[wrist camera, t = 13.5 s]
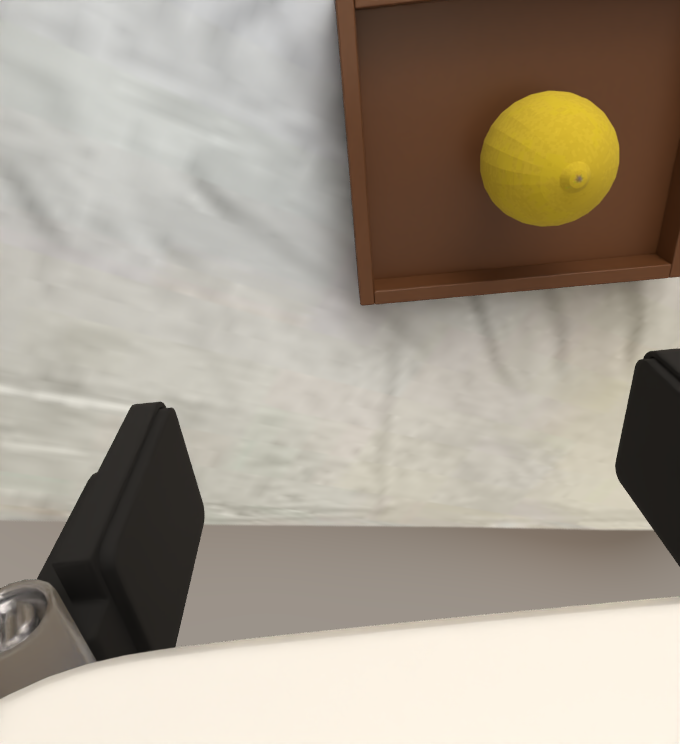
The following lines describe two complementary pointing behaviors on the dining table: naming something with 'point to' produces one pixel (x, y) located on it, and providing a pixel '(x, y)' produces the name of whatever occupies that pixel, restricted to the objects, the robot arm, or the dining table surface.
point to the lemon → (549, 158)
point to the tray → (471, 124)
